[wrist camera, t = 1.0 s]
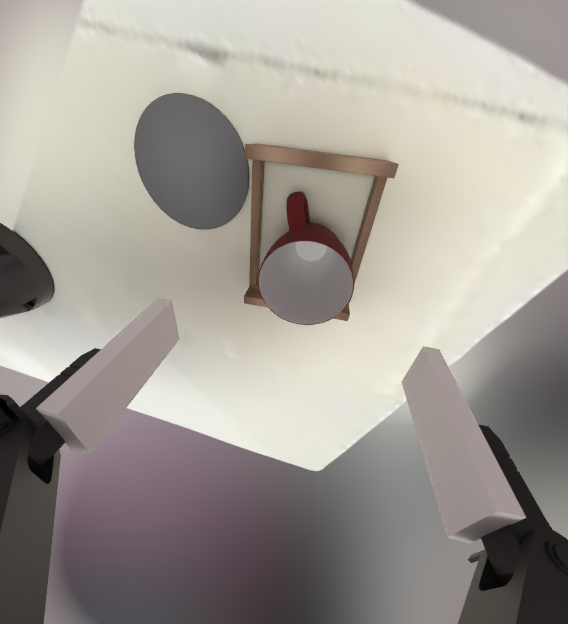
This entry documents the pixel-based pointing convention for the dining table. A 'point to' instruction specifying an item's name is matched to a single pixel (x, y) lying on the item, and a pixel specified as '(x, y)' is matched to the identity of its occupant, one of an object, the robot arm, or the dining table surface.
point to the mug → (306, 270)
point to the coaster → (191, 161)
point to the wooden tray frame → (316, 160)
